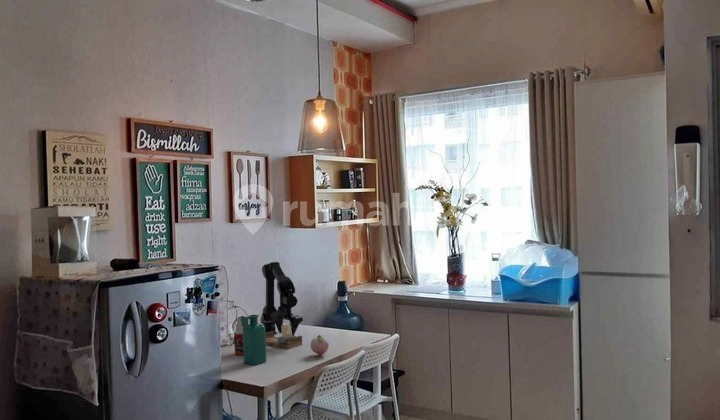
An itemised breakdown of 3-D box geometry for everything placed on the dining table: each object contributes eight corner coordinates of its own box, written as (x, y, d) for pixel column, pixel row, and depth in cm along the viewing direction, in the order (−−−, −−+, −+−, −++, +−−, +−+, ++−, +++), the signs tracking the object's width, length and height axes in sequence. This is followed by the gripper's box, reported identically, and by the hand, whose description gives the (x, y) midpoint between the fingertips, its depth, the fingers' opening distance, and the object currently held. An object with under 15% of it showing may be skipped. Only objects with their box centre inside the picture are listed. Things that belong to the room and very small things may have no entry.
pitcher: (256, 358, 280) (254, 312, 280) (268, 361, 275) (266, 314, 274) (239, 363, 273) (238, 315, 272) (251, 366, 267) (250, 317, 267)
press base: (258, 343, 310) (258, 334, 310) (272, 339, 318) (272, 331, 318) (288, 349, 296) (288, 340, 296) (302, 344, 304) (301, 335, 304)
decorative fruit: (308, 354, 285) (307, 333, 285) (324, 352, 288) (324, 331, 288) (314, 359, 276) (313, 337, 276) (330, 356, 279) (330, 335, 279)
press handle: (277, 342, 303) (277, 325, 303) (287, 339, 309) (287, 323, 308) (286, 343, 299) (285, 327, 299) (295, 340, 305) (295, 324, 305)
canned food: (231, 354, 289) (230, 332, 288) (242, 350, 296) (241, 328, 296) (244, 356, 285) (243, 333, 285) (254, 352, 292) (253, 330, 292)
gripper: (261, 305, 303) (262, 335, 303) (287, 308, 292) (288, 340, 292) (277, 301, 312) (278, 331, 312) (303, 304, 300) (304, 335, 301)
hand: (286, 334), depth 304 cm, fingers open, 9 cm apart
